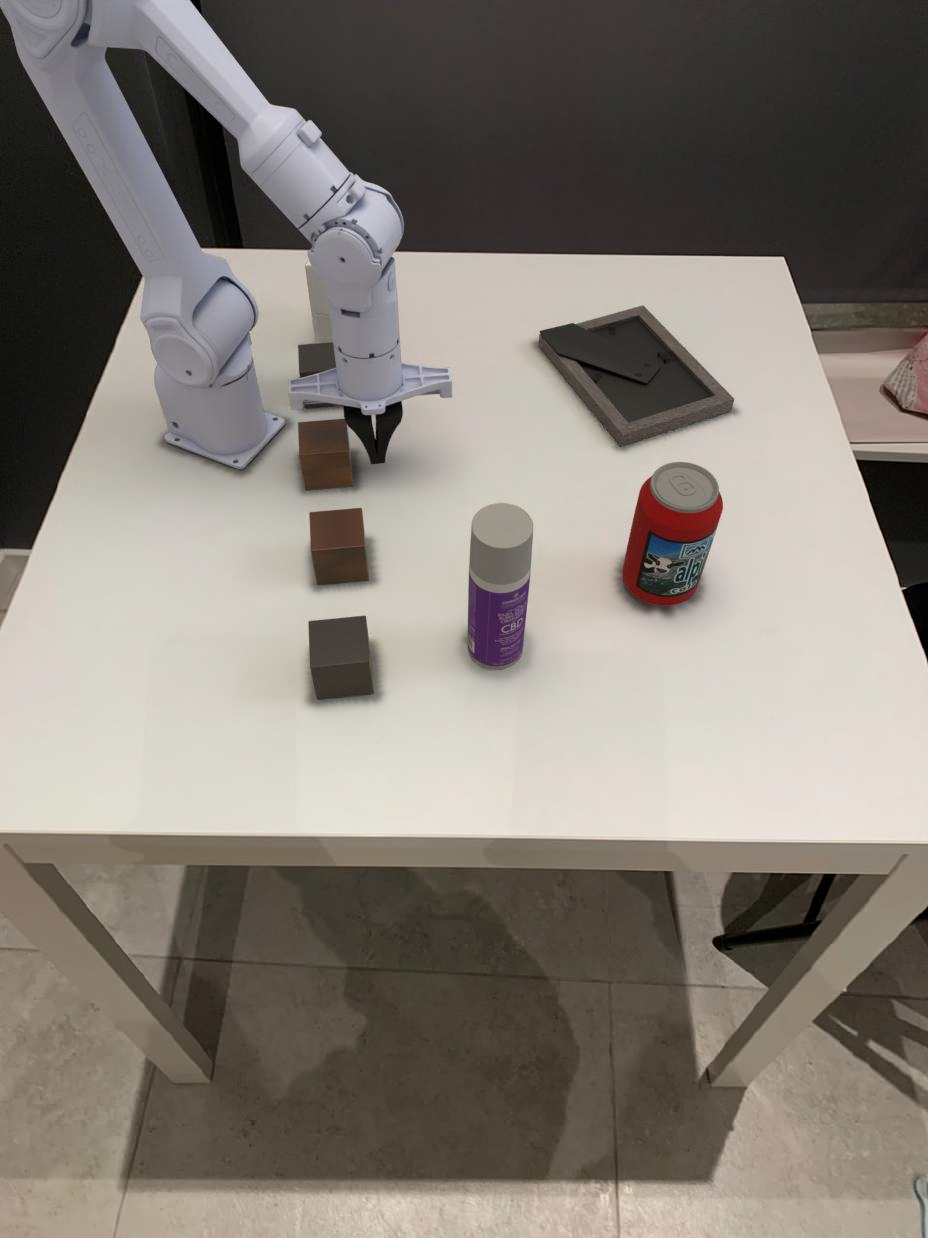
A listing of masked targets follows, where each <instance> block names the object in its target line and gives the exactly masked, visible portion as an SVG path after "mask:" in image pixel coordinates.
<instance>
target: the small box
mask: <svg viewBox="0 0 928 1238" xmlns="http://www.w3.org/2000/svg"><path fill="white" fill-rule="evenodd" d="M304 269H305V278H306V284H307V290H308V291H307V292H308V299H309V307H310V311H311V312H310V313H311V321H312V328H313V334H314V341H315V342H314V343H315V344H316V343H330V342H333V336H332V328H331V320H330V312H329V304H328V297H327V290H326V286H325V284H324V283H323V281H322V280H321V279H320V277H319V276H318V275H317V274H316V272H315V271H314V269H313V268H312V266H311V264H310V261H309V259H307V261H306V262H305V264H304Z"/></svg>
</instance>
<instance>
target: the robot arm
mask: <svg viewBox="0 0 928 1238" xmlns="http://www.w3.org/2000/svg"><path fill="white" fill-rule="evenodd" d="M0 9H1V12H2V13H3V15H4V17H5V18H6V20H7V22H8V24H9V25H10V30H11V33H12V37H13V40H14V45H15V49H16V52H17V55H18V57H19V60H20V62H21V64H22V66H23V68H24V70H25V72H26V73H27V75H28V77H29V79H30V81H31V82H32V84H33V86H34V87H35V89H36V91H37V93H38V94H39V96H40V98H41V99H42V101H43V103H44V105H45V107H46V108H47V110H48V112H49V114H50V115H51V117H52V120H53V121H54V122H55V124H56V126H57V128H58V130H59V132H60V133H61V135H62V137H63V139H64V140H65V142H66V144H67V146H68V147H69V149H70V151H71V152H72V154H73V156H74V157H75V160H76V161H77V163H78V165H79V167H80V168H81V170H82V172H83V174H84V175H85V177H86V179H87V181H88V182H89V184H90V186H91V187H92V189H93V191H94V193H95V194H96V196H97V198H98V199H99V202H100V203H101V205H102V208H103V209H104V210H105V212H106V214H107V215H108V217H109V220H110V221H111V223H112V224H113V226H114V228H115V230H116V231H117V234H118V235H119V237H120V238H121V240H122V242H123V244H124V245H125V247H126V249H127V251H128V253H129V254H130V256H131V258H132V260H133V261H134V263H135V265H136V267H137V268H138V270H139V272H140V274H141V275H142V277H143V279H144V282H143V293H142V298H141V305H140V313H139V315H140V317H139V318H140V322H141V323H142V325H143V327H144V328H145V330H146V332H147V335H148V339H149V343H150V351H151V355H152V357H153V358H154V360H155V362H156V364H155V369H154V375H153V377H154V379H153V380H154V381H153V382H154V389H155V392H156V395H157V398H158V401H159V404H160V408H161V410H162V415H163V417H164V419H165V421H164V422H165V424H166V426H167V431H168V432H167V433H165V435H164V441H165V442H166V443H167V444H171V445H173V446H175V447H178V448H181V449H184V450H186V451H189V452H191V453H193V454H197V455H199V456H202V457H204V458H207V459H210V460H213V461H215V462H218V463H220V464H224V465H227V466H229V467H230V468H231V467H232V468H234V469H237V470H244V469H245V468H246V467H247V466H248V465H249V463H250V462H251V461H252V460H253V459H254V458H255V457H256V456H257V455H258V454H259V453H260V452H261V451H262V449H263V448H264V447H265V446H266V445H267V444H268V443H269V442H270V441H271V439H272V438H274V436H275V435H276V434H277V433H278V432H279V431H280V430H281V429H282V428H283V427H284V426H285V425H286V422H285V421H286V420H285V419H284V418H283V417H281V416H278V415H275V414H273V413H270V412H267V411H265V409H264V405H263V400H262V395H261V390H260V386H259V380H258V375H257V372H256V366H255V361H254V357H253V351H252V347H251V346H252V344H253V341H252V337H251V333H250V332H251V331H252V330H253V329H254V328H255V326H256V325H257V323H258V320H259V313H260V312H259V307H258V304H257V301H256V299H255V297H254V296H253V293H252V292H251V291H250V290H249V289H248V287H246V286H245V285H244V284H243V282H241V281H240V280H239V278H238V277H236V275H235V273H234V272H233V270H232V268H231V267H230V264H229V262H228V261H227V259H226V258H224V257H222V256H219V255H215V254H210V253H206V252H204V251H203V249H202V247H201V246H200V243H199V242H198V240H197V238H196V236H195V234H194V231H193V229H192V228H191V226H190V224H189V222H188V220H187V218H186V216H185V214H184V212H183V211H182V207H180V204H179V203H178V200H177V198H176V196H175V195H174V193H173V190H172V189H171V187H170V185H169V183H168V181H167V179H166V177H165V174H164V173H163V170H162V169H161V167H160V165H159V163H158V162H157V159H156V158H155V156H154V152H152V150H151V147H150V146H149V144H148V141H147V140H146V138H145V136H144V134H143V132H142V130H141V128H140V126H139V124H138V121H137V120H136V117H135V116H134V114H133V112H132V110H131V108H130V106H129V104H128V102H127V101H126V100H127V99H126V97H124V94H123V92H122V91H121V89H120V87H119V85H118V83H117V81H116V78H115V77H114V74H113V73H112V71H111V69H110V67H109V65H108V63H107V61H106V52H107V49H108V48H113V49H114V48H116V49H117V48H118V49H131V50H143V51H144V52H146V53H147V54H149V55H150V56H151V57H152V58H153V59H154V60H155V61H156V62H157V63H158V64H159V65H160V66H161V67H162V68H163V69H164V70H165V71H166V72H167V73H168V74H169V75H170V76H171V77H172V78H173V79H174V80H175V81H176V82H177V83H179V85H181V86H182V87H183V88H184V89H185V91H187V92H188V93H189V95H191V96H192V98H194V99H195V100H196V101H197V102H198V103H199V104H200V105H201V106H202V107H203V108H204V109H205V110H206V111H207V112H208V113H209V114H210V115H212V116H213V118H215V120H217V122H219V124H221V125H222V126H223V127H224V128H225V129H226V130H227V131H228V133H230V135H232V136H233V137H234V138H235V139H236V140H237V147H238V155H239V164H240V168H241V169H242V170H243V171H244V173H245V174H247V175H248V177H249V178H250V179H251V180H252V181H253V182H254V183H255V184H256V185H257V186H258V188H260V190H261V191H262V192H263V193H264V194H265V195H266V196H267V197H268V198H269V199H270V201H271V202H272V203H273V204H274V205H275V206H276V207H277V208H278V209H279V210H280V211H281V212H282V214H284V216H285V217H286V218H287V219H288V220H289V221H290V222H291V223H292V224H293V226H294V227H295V228H296V229H297V230H298V231H299V232H300V233H301V234H302V235H303V237H304V238H306V240H307V241H308V242H309V243H310V244H311V248H310V250H307V252H306V253H307V259H308V260H309V261H310V264H311V266H312V268H313V269H314V271H315V272H316V274H317V275H318V276H319V277H320V279H321V280H322V281H323V283H324V284H325V286H326V290H327V297H328V304H329V312H330V320H331V328H332V336H333V345H334V353H335V361H336V368H333V369H330V370H327V371H324V372H320V373H317V374H314V375H311V376H307V377H303V378H300V377H297V378H290V379H288V382H287V384H288V387H287V388H288V398H289V404H290V409H291V411H298V410H303V409H305V406H304V404H316V403H331V404H338V405H340V406H342V409H343V419H345V421H346V423H347V428H349V429H350V430H351V431H353V432H354V434H355V435H356V436H357V438H358V439H359V441H360V442H361V443H362V446H363V447H364V450H365V451H366V453H367V456H368V459H369V462H370V465H381V464H383V465H384V464H385V463H386V456H387V451H388V448H389V445H390V442H391V439H392V437H393V435H394V433H395V431H396V429H397V428H398V426H399V425H400V424H401V423H402V420H403V416H404V411H403V410H404V409H403V401H406V400H409V399H411V398H412V399H413V398H414V397H418V396H430V395H432V396H433V395H439V397H440V399H451V398H453V379H452V373H451V367H435V366H427V365H426V366H425V365H419V364H412V363H405V362H402V353H401V352H402V350H401V335H400V334H401V333H400V317H399V299H398V287H397V272H396V259H395V257H393V255H394V253H395V251H397V248H398V247H399V245H400V244H401V240H402V238H403V235H404V231H405V221H404V217H403V214H402V211H401V209H400V207H399V206H398V204H397V203H396V201H395V200H394V198H393V196H392V194H391V193H390V192H389V191H388V190H387V189H386V188H383V187H381V186H380V185H378V184H375V183H373V182H368V181H365V180H363V179H362V178H361V177H360V176H359V175H358V174H357V173H355V174H354V173H353V172H351V171H350V170H349V169H348V168H347V167H346V166H345V165H344V164H343V163H342V161H341V160H340V159H339V158H338V156H337V155H336V154H335V153H334V152H333V151H332V149H330V148H329V146H328V145H327V144H326V143H325V142H324V141H323V139H322V138H321V137H322V134H323V133H322V131H321V130H320V129H319V128H318V126H317V125H316V124H315V123H314V122H313V120H311V119H308V120H307V121H306V119H305V118H304V117H303V116H302V115H301V113H300V112H298V110H297V109H296V108H292V107H287V106H281V105H274V104H271V103H270V102H269V101H268V100H267V98H266V97H265V96H264V95H263V93H262V92H261V91H260V89H259V88H258V87H257V86H256V84H255V83H254V82H253V80H252V79H251V77H249V75H248V74H247V72H246V71H245V70H244V69H243V67H242V66H241V65H240V64H239V62H238V61H237V60H236V58H235V57H234V55H233V54H232V53H231V52H230V51H229V49H228V48H227V46H226V45H225V44H224V43H223V41H222V40H221V39H220V37H219V36H218V35H217V34H216V32H215V31H214V29H213V28H212V26H210V25H209V23H208V21H206V19H205V18H204V17H203V16H202V14H201V13H200V12H199V10H198V9H197V8H196V6H195V5H194V4H193V2H192V1H191V0H0ZM372 416H375V431H374V424H373V417H372Z"/></svg>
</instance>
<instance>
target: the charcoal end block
mask: <svg viewBox="0 0 928 1238" xmlns="http://www.w3.org/2000/svg"><path fill="white" fill-rule="evenodd" d="M297 349H298V350H297V351H298V375H299V378H303V377H307V376H311V375H314V374H317V373H320V372H324V371H327V370H330V369H333V368H336V361H335V353H334V345H333V342H330V343H316V342H315V343H304V344H298V345H297ZM337 406H339V407H340V406H341V405H338V404H331V403H316V404H304V409H312V408H313V409H314V408H325V407H326V408H327V407H337Z"/></svg>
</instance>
